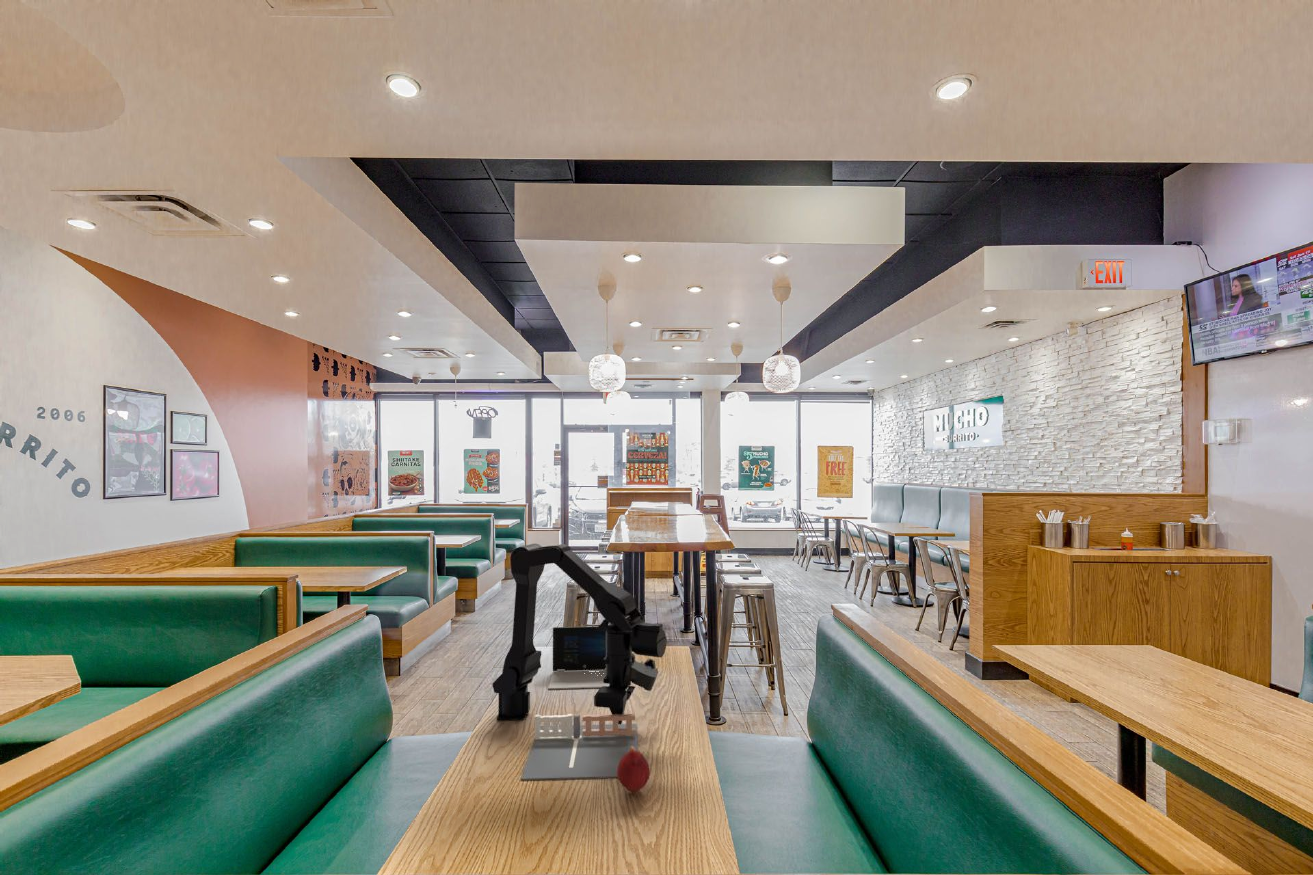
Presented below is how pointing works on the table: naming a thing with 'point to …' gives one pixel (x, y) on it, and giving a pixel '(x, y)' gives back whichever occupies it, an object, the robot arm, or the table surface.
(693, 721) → the table surface
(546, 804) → the table surface
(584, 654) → the laptop
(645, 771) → the onion
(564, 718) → the fence fixed
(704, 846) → the table surface
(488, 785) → the table surface
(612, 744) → the mat
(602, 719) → the fence gate
